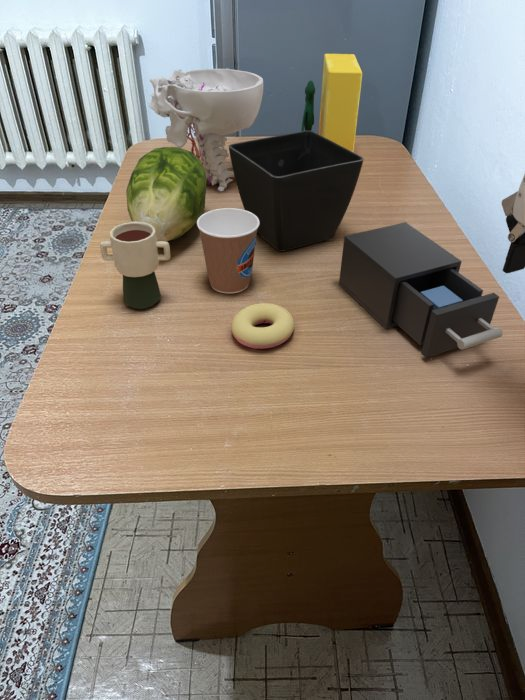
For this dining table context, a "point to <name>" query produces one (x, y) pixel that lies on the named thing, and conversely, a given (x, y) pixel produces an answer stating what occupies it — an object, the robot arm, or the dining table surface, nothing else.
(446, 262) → the dark grey drawer cabinet
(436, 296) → the block
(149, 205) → the lettuce
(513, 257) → the robot arm
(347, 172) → the flower pot
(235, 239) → the coffee cup
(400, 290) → the dark grey drawer
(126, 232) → the character mug
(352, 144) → the yellow and green pieces
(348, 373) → the dining table surface
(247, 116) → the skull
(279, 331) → the donut
